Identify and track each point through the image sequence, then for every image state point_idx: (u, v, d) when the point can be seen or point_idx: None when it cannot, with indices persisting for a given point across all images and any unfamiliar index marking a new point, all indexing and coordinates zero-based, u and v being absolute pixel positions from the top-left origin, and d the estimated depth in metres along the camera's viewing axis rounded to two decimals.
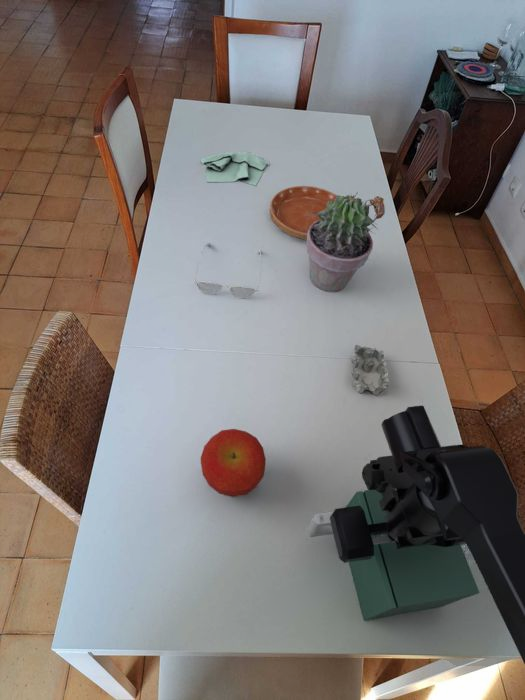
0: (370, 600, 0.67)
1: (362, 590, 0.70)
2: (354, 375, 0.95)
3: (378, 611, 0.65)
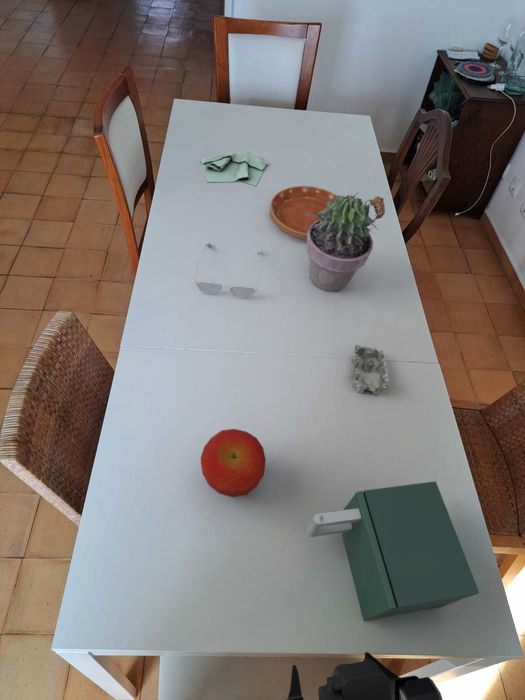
0: (370, 600, 0.67)
1: (362, 590, 0.70)
2: (354, 375, 0.95)
3: (378, 611, 0.65)
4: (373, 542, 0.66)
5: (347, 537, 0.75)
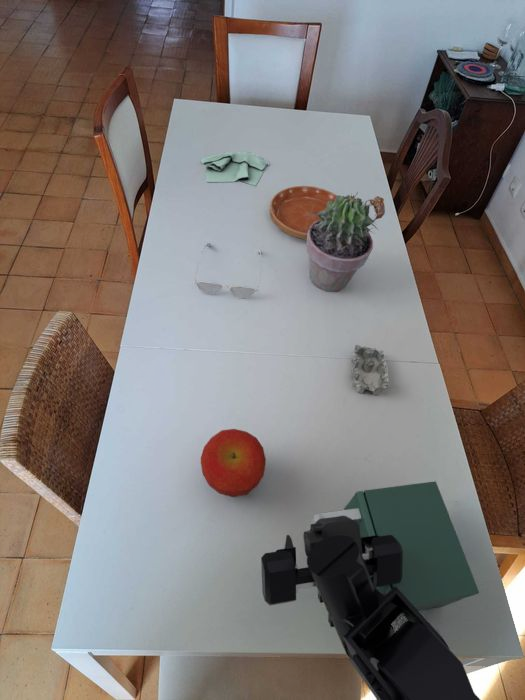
0: None
1: None
2: (354, 375, 0.95)
3: None
4: None
5: None
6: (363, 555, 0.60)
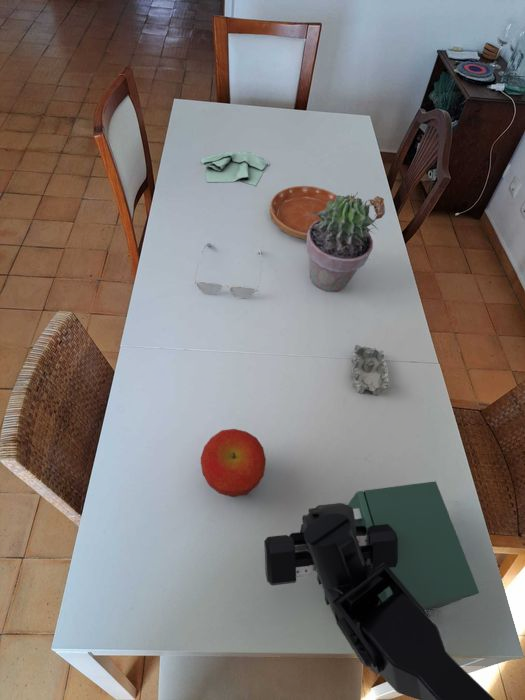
0: None
1: None
2: (354, 375, 0.95)
3: None
4: None
5: None
6: None
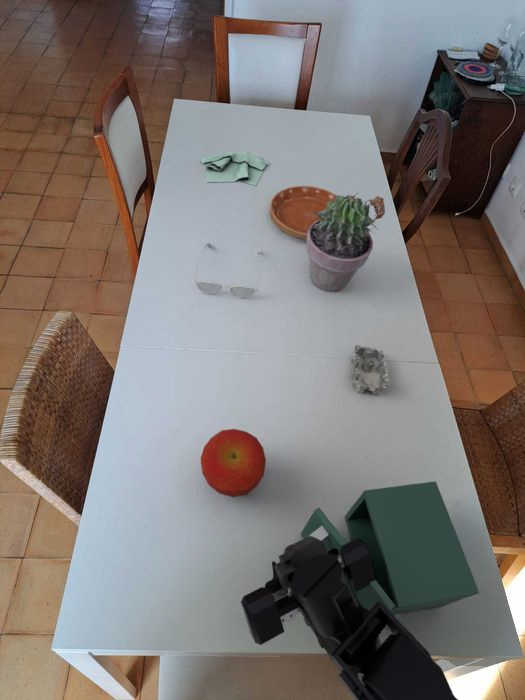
0: (365, 605, 0.67)
1: None
2: (354, 375, 0.95)
3: None
4: None
5: None
6: None
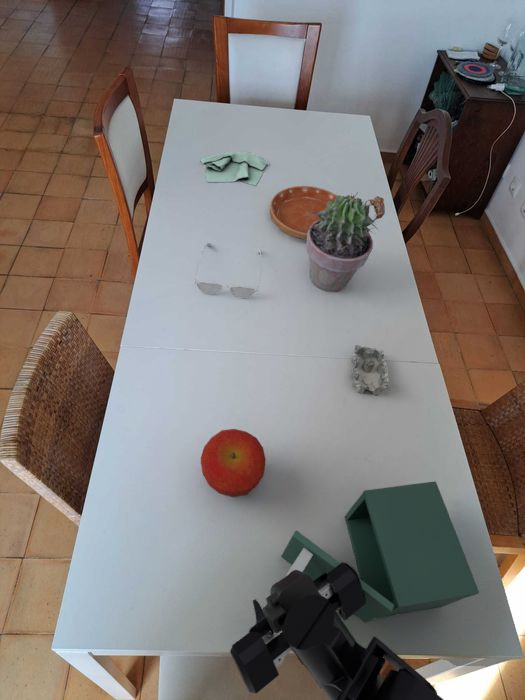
0: (364, 609, 0.67)
1: None
2: (354, 375, 0.95)
3: (379, 615, 0.64)
4: None
5: (304, 569, 0.72)
6: None
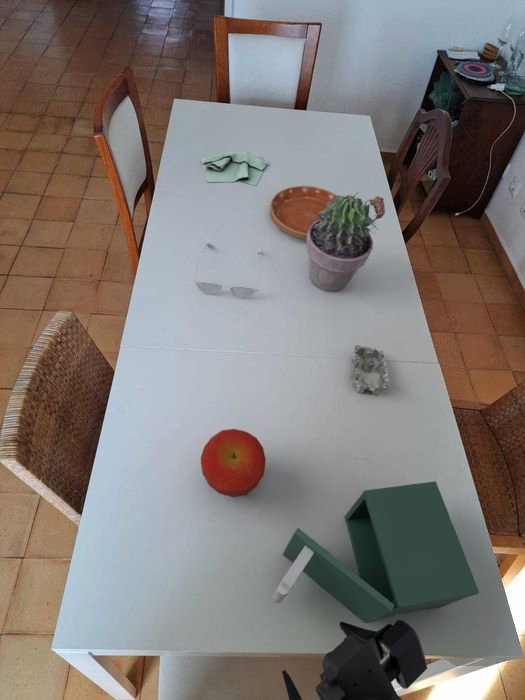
0: (364, 609, 0.67)
1: (350, 603, 0.69)
2: (354, 375, 0.95)
3: (379, 615, 0.64)
4: (339, 566, 0.63)
5: (305, 567, 0.72)
6: (385, 660, 0.51)
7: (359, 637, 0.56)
